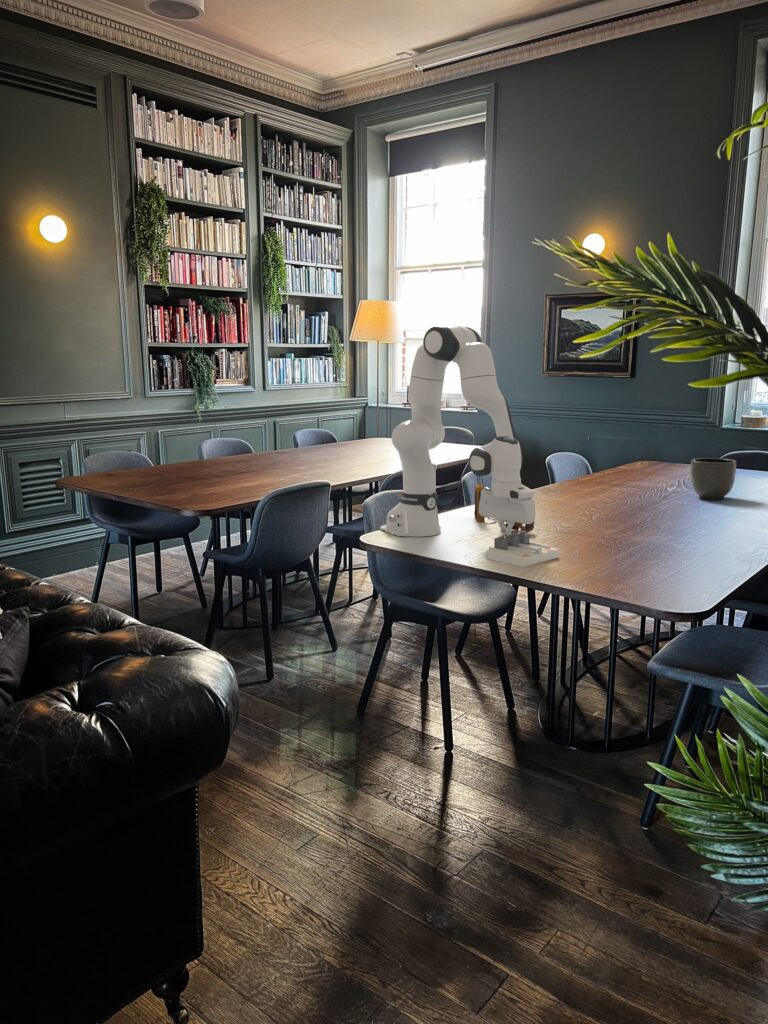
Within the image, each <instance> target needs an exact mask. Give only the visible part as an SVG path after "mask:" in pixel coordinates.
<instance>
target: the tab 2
mask: <svg viewBox="0 0 768 1024" xmlns="http://www.w3.org/2000/svg"><path fill="white" fill-rule="evenodd" d="M519 532H520V531H519ZM519 532H517V533H516V536H519V543H522V544H527V545H529V541H530V533H529V532H528V533H526V531H522V532H520V533H519Z"/></svg>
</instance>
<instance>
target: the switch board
mask: <svg viewBox="0 0 768 1024" xmlns="http://www.w3.org/2000/svg"><path fill="white" fill-rule="evenodd" d="M485 552H486V553H485V555H486V557H485V558H486V559H487V560H491V561H497V562H499V563H503V564H509V565H513V566H517V567H521V568H524V567H529V566H533V565H535V564H540V563H543V562H547V561H551V560H554V559H557V558H559V549H558V548H554V547H551V545H548V544H544V543H538V542H533V541H531V540H529V545H527V544H522V543H519V547H513V546H508V545H507V550H502V549H498V548H494V546H493V547H492V546H490V547H488V549H486V550H485Z"/></svg>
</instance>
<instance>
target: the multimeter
mask: <svg viewBox="0 0 768 1024" xmlns="http://www.w3.org/2000/svg"><path fill="white" fill-rule="evenodd" d="M476 479H477V484H474V513H473V514H474V520H475V521H476V522H477V523H484V524H486V525H491V524H495V523H498V519H495V518H490V517H488V518H487V519H488V520H493V522H490V523H487V522H486V521H485V520H486V519H485V518H486V517H484V516H480V514H479V502H480V497H481V490H482V489H483V488H485V487H486V486H484V480H483V478H481V477H480V476H476Z"/></svg>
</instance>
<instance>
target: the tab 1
mask: <svg viewBox="0 0 768 1024" xmlns="http://www.w3.org/2000/svg"><path fill="white" fill-rule="evenodd" d="M493 540H494V545H493V548H498V549H502V550H507V541H508V539H506V537H505V536H504V535H501V536H497V537H496V538H495V537H494V539H493Z"/></svg>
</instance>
